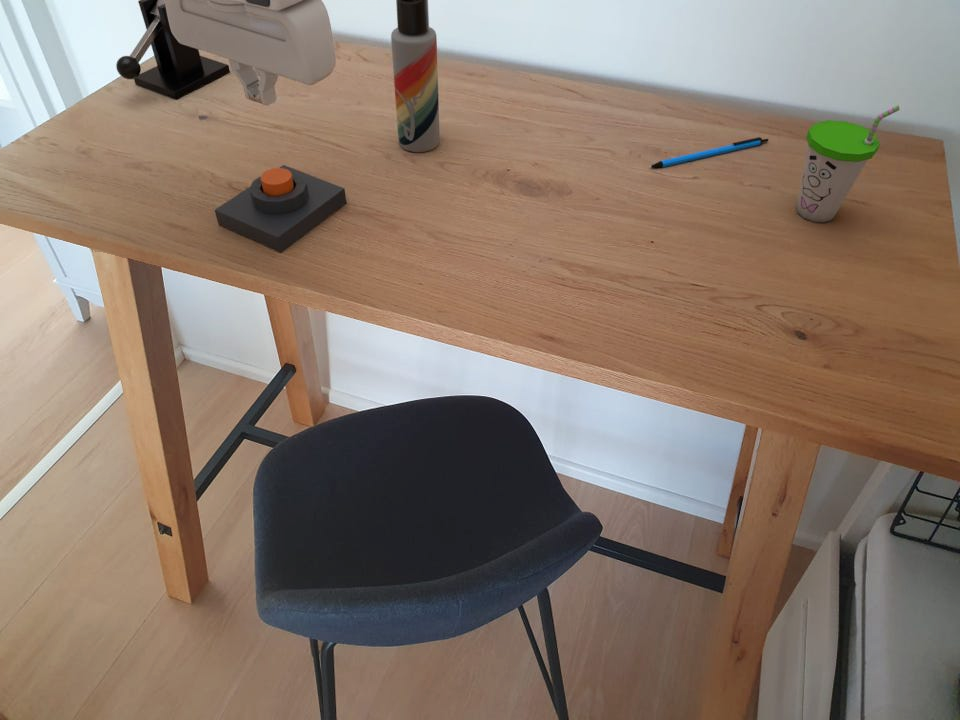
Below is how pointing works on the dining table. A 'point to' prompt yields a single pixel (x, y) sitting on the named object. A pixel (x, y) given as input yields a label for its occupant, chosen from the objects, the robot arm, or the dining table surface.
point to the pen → (710, 152)
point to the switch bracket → (175, 61)
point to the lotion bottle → (415, 77)
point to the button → (277, 182)
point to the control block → (281, 210)
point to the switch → (140, 47)
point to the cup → (834, 165)
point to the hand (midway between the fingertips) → (261, 100)
